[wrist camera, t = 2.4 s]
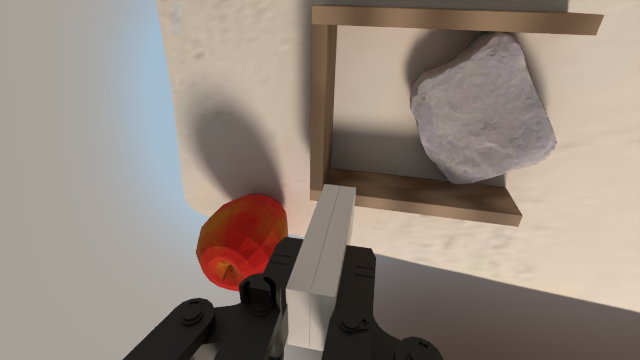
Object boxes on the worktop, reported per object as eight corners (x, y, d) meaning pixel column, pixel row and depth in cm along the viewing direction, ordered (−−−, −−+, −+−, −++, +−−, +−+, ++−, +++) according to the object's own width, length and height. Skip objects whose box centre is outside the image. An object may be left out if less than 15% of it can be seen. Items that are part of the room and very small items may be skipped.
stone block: (450, 173, 35) (557, 137, 30) (446, 198, 32) (569, 163, 26) (398, 78, 32) (507, 16, 26) (388, 93, 28) (513, 26, 23)
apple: (277, 166, 37) (232, 230, 27) (314, 226, 40) (286, 305, 30) (216, 191, 40) (156, 257, 30) (254, 245, 44) (212, 321, 33)
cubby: (568, 12, 25) (604, 14, 21) (502, 197, 33) (518, 226, 29) (324, 4, 28) (311, 5, 24) (319, 176, 36) (310, 200, 32)
